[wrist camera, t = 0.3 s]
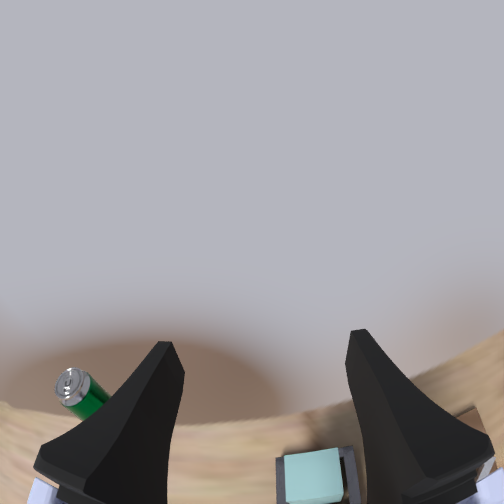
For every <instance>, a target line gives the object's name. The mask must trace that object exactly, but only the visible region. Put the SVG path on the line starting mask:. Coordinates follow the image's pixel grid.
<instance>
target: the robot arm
mask: <svg viewBox="0 0 504 504" xmlns="http://www.w3.org/2000/svg"><path fill="white" fill-rule="evenodd" d="M345 365H346V372H347V377H348V384H349V388H350V391H351V395H352V399H353V402H354V406H355V409H356V413H357V416H358V420H359V424H360V428H361V432H362V437H363V444H364V452H365V462H366V474H367V504H504V470H503V467H500V468H499V469H497V470H496V471H494V472H492V473H491V474H489V475H488V476H486V477H484V478H483V479H481V480H479V481H477V482H476V483H475V479H474V478H475V477H477V471H476V469H477V468H478V467H480V466H481V465H483V464H484V463H485V462H487V461H488V460H489V459H491V458H492V457H493V456H494V454H495V452H494V449H493V446H492V443H491V440H490V438H489V436H488V435H487V434H485V433H483V432H481V431H479V430H477V429H474V428H472V427H470V426H468V425H467V424H465V423H463V422H462V421H460V420H458V419H457V418H455V417H454V416H452V415H451V414H449V413H448V412H446V411H445V410H444V409H442V408H441V407H439V406H438V405H437V404H435V403H434V402H433V401H432V400H431V399H429V398H428V397H427V396H426V395H425V394H424V393H422V392H421V391H420V390H419V389H418V388H417V387H416V386H415V385H414V384H413V383H412V382H411V381H410V380H409V379H408V378H407V377H406V376H405V375H404V374H403V373H402V372H401V371H400V370H399V368H398V367H397V366H396V365H395V364H394V363H393V362H392V361H391V360H390V358H389V357H388V356H387V355H386V354H385V352H384V351H383V350H382V349H381V347H380V346H379V345H378V344H377V343H376V341H375V340H374V339H373V337H372V336H371V335H370V333H369V332H368V331H367V330H366V329H361V330H354V331H351V333H350V340H349V345H348V350H347V356H346V361H345ZM184 374H185V372H184V369H183V367H182V364H181V362H180V360H179V358H178V355H177V353H176V351H175V348H174V346H173V344H172V342H164V341H158V343H157V344H156V345H155V346H154V347H153V349H152V350H151V351H150V352H149V354H148V355H147V356H146V357H145V359H144V360H143V361H142V362H141V364H140V365H139V366H138V367H137V369H136V370H135V371H134V372H133V373H132V375H131V376H130V377H129V378H128V379H127V380H126V382H125V383H124V384H123V385H122V386H121V387H120V388H119V389H118V390H117V391H116V393H115V394H114V395H113V396H112V397H111V398H110V399H109V400H108V401H107V402H106V403H105V404H103V405H102V406H101V407H100V408H99V409H98V410H97V411H96V412H94V413H93V414H92V415H91V416H89V417H88V418H87V419H85V420H84V421H83V422H81V423H80V424H79V425H77V426H76V427H74V428H73V429H71V430H70V431H68V432H66V433H65V434H63V435H61V436H59V437H57V438H55V439H53V440H51V441H49V442H47V443H45V444H43V445H41V448H40V450H39V453H38V455H37V458H36V461H35V463H34V466H33V468H34V469H35V470H36V471H37V472H39V473H40V474H42V475H44V476H45V477H47V478H49V479H50V480H52V481H54V482H55V483H57V484H59V485H60V486H59V489H57V488H55V487H54V486H52V485H50V484H48V483H46V482H44V481H43V480H41V479H39V478H37V477H35V480H34V483H33V486H32V489H31V492H30V495H29V499H28V502H27V504H167V476H168V461H169V451H170V443H171V438H172V433H173V429H174V425H175V420H176V417H177V413H178V409H179V405H180V401H181V396H182V392H183V384H184Z"/></svg>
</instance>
